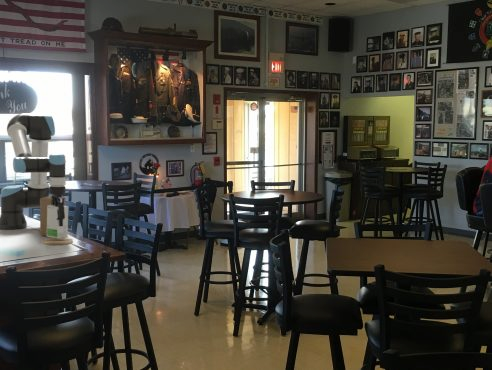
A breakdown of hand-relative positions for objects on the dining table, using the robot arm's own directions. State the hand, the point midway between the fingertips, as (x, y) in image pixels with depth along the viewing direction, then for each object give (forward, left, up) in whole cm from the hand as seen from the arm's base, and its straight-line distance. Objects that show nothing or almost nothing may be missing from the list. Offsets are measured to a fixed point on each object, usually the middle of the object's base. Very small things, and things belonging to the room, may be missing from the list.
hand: (57, 231), depth 274 cm
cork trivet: (0, 0, -6) cm, 6 cm away
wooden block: (-21, +3, -6) cm, 22 cm away
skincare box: (0, 0, -3) cm, 3 cm away
